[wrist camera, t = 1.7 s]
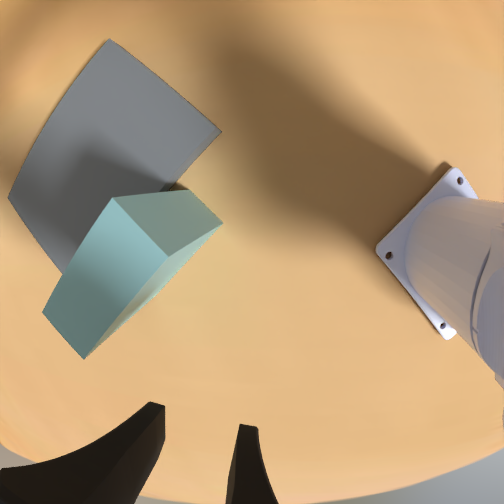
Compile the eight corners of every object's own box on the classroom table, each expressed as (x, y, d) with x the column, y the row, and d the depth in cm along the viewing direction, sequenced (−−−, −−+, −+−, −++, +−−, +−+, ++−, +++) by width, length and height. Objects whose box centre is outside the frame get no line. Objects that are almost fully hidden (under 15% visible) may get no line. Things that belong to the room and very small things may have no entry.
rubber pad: (221, 131, 18) (216, 127, 16) (92, 289, 21) (81, 296, 20) (119, 45, 17) (109, 38, 16) (19, 196, 21) (7, 197, 19)
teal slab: (223, 222, 19) (168, 257, 10) (156, 294, 21) (83, 359, 12) (189, 189, 19) (112, 197, 10) (127, 264, 20) (42, 312, 12)
